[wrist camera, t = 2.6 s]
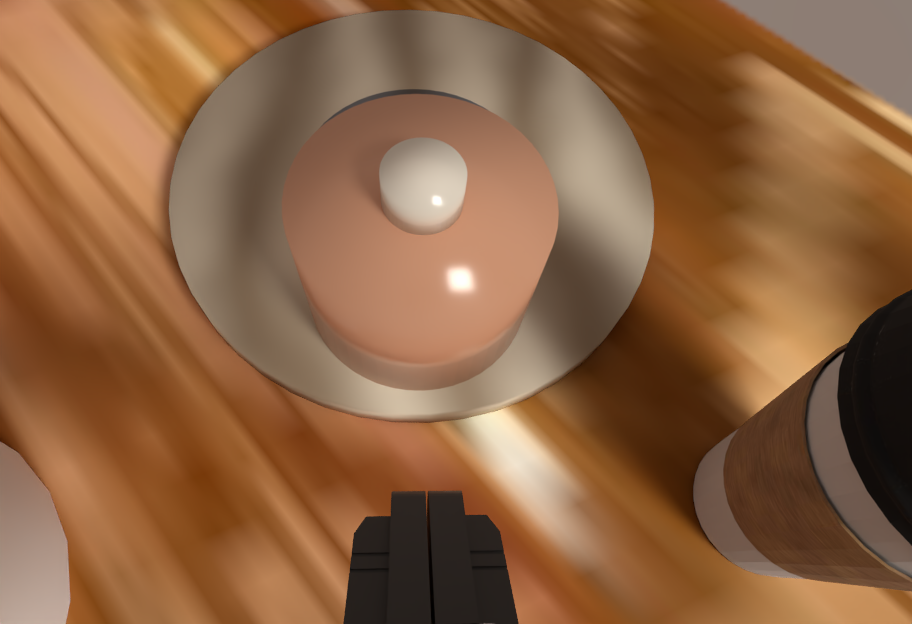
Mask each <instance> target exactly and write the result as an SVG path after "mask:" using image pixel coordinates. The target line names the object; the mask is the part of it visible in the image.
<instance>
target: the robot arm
mask: <svg viewBox="0 0 912 624" xmlns="http://www.w3.org/2000/svg"><path fill="white" fill-rule="evenodd" d="M344 624H518V619H517V614H516V609H515V604H514V599H513V594H512V589H511V584H510V579H509V574H508V570H507V565H506V560H505V555H504V550H503V545H502V540H501V535H500V531H499V530H498V529H497V527H496V526H495V525H494V524H493V522H492V521H491V520H490V519H489V517H488V516H487V515H465V511H464V503H463V495H462V491H428V499H427V516H426V494H425V491H402V492H392V498H391V516H376V517H366V518H365V519H364V520H363V522H362V523H361V525H360V526H359V527H358V529H357V530H356V532H355V533H354V539H353V547H352V557H351V564H350V573H349V581H348V590H347V599H346V607H345V616H344Z"/></svg>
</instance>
